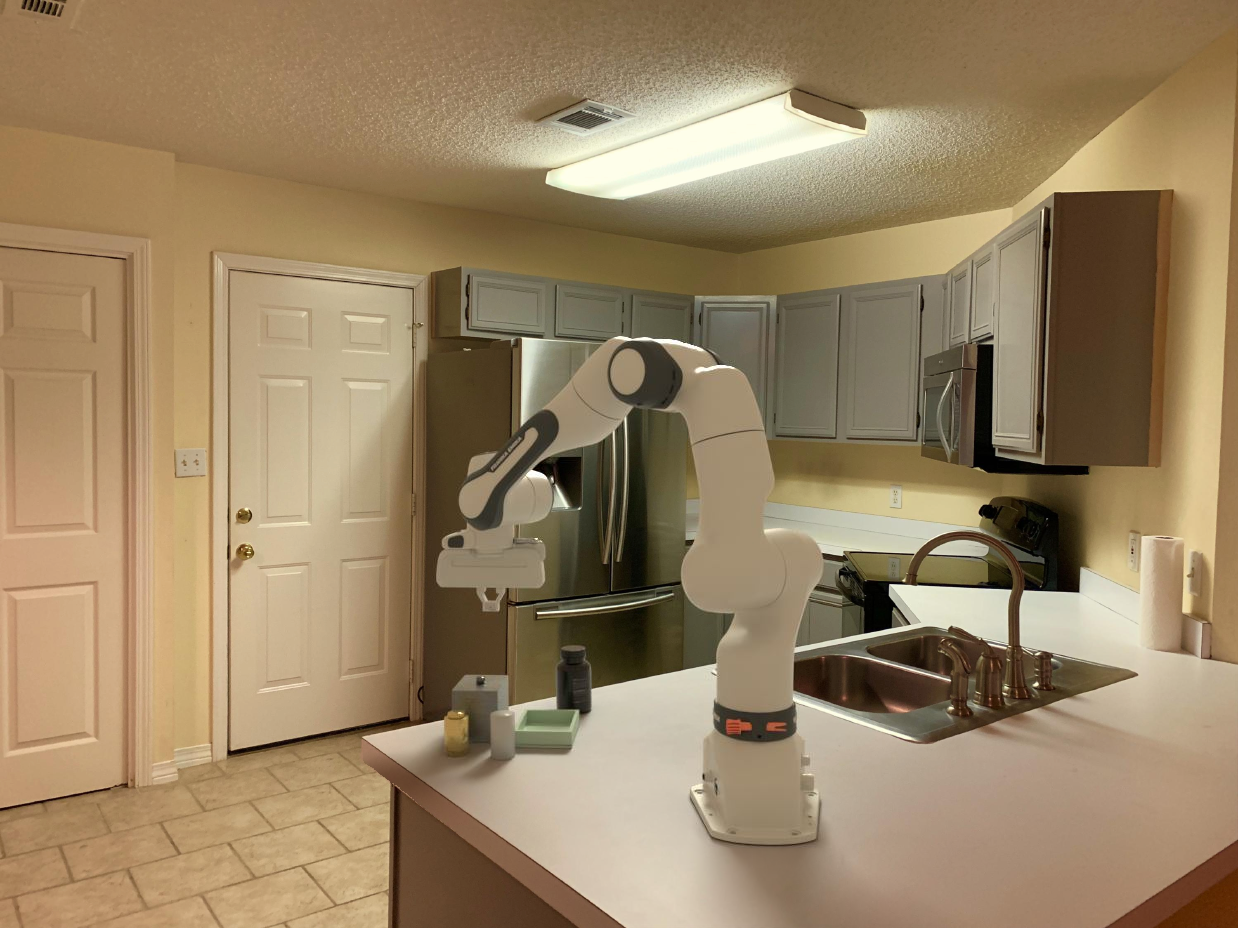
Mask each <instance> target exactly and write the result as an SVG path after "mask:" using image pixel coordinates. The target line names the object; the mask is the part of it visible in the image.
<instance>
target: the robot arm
mask: <svg viewBox="0 0 1238 928" xmlns="http://www.w3.org/2000/svg"><path fill="white" fill-rule="evenodd" d="M633 408H637V409H641V410H653V411H654V410H656V411H661V412H664V413H680V414H681V415H682V417H683V418H684V420H685V423H686V426H687V428H688V433H689V442H690V447H691V451H692V456H693V461H694V466H695V472H696V479H697V485H698V491H699V517H698V524H697V530H696V533H695V538H694V541H693V543H692V545H691V546H690V548H689V550H688V551H687V552H686V553H685V555H684V558H683V560H682V563H681V568H680V569H681V570H680V578H681V584H682V589H683V591H684V593H685V595H686V597H687V598H688V600H689V601H690V602H691V603H692V605H694V607H697V608H698V609H699V610H701V611H705V612H708V613H710V612H711V613H718V614H734V617H733V619H732V621H731V623H730V626H729V628H728V630H727V631H726V632H725V634H724V635H723V637H722V638H721V639H720V641H719V643H718V646H717V649H716V697H715V698H714V700H713V707H712V716H713V719H712V720H713V721H712V723H713V729H712V730H711V731H710V732H709V733H708V734H707V735H705V737H703V742H702V745H703V746H702V747H703V748H702V749H703V750H702V774H701V775H702V777H701V778H702V779H701V780H702V783H698V784H696V785H693V786H691V787H690V789H689V797H690V798H691V801H692V802H693V803H692V804H693V805H694V807H695V809H696V810H697V812H698V814H699V816H700V818H701V820H702V822H703V823H704V826H705V827H706V829H707V831H708V833H709V835H710V836H711V837H712V838H714V839H718V840H721V841H726V842H731V843H737V844H746V845H747V844H749V845H767V846H768V845H770V846H771V845H773V846H775V845H776V846H777V845H780V846H781V845H794V844H802V843H807V842H811V841H814V840H816V839H817V835H818V827H819V826H818V824H819V814H820V813H819V812H820V806H821V805H820V803H821V795H820V794H821V793H820V790H819V789H817V788H815V784H814V783H815V774H814V773H809V772H805V771H806V768H805V767H806V766H807V767H809V766H810V763H811V760H810V759H811V758H810V755H806V741H805V739H804V738H802V736H801V735H799V734H798V732H797V728H798V726H797V719H798V712H797V704H796V702H795V701H794V663H795V661H794V660H795V650H796V642H797V638H798V634H799V630H800V629H799V628H800V626H801V622H802V619H803V615H804V612H805V609H806V606H807V603H808V600H809V597H810V595H811V594H812V592H813V591H814V589H815V587H816V586H817V585H818V583H819V582H820V581H821V578H822V576H823V572H824V565H825V564H824V556H823V553H822V550H821V548H820V547H819V545H818V543H817V542H816V540H815V539H814V538H812V537H811V536H810V535H808V533H807V534H806V533H805V532H802V531H799V530H794V529H788V528H783V527H776V528H768V529H765V528H764V514H765V513H764V512H765V506H766V502H767V499H768V497H769V496H770V494H771V493H772V492H773V490H774V488H775V482H776V479H775V474H774V472H775V471H774V469H773V463H772V460H771V459H772V458H771V454H770V450H769V444H768V441H767V435H766V432H765V426H764V421H763V417H762V415H761V412H760V408H759V404H758V402H757V400H756V396H755V394H754V391H753V389H752V387H751V384H750V382H749V380H748V378H747V376H746V375H745V374H744V372H742V370H740V369H738V368H736V367H732V366H729V365H727V364H726V363H725V361H724V360H723V358H722V357H721V356H719V354H717V353H716V352H715V351H712V350H710V349H708V348H706V347H703V346H699V345H698V346H697V345H695V346H694V345H691V344H690V343H683V342H681V341H679V340H675V339H674V340H673V339H662V338H660V339H659V338H658V339H653V338H650V337H638V338H633V339H632V338H629V337H626V336H616V337H611V338H610V339H608V340H606V341H605V342H604V343H603V344H602V345H600V347H599V346H598V348H597V349H596V350H595V351H594V352H593V353H592V354H591V355H590V356H589V357H588V358H587V360H585V362H584V363H583V364H582V365H581V366H580V367H579V369H578V370H577V371H576V372H575V374H574V375H573V377H572V378H571V379H570V380H569V381H568V383H567V384H566V386H564V388H562V389H561V391H560V392H559V393H558V394H557V395H556V396H555V397H554V398H553V399H552V400H551V401H550V402H548V403H547V404H546V405H545V406H543V407H542V408H541V409H540V410H539V411H537V412H536V413H534V414H533V415H532V416H531V417H530V418H529V419H527V420H526V421H525V422H524V423H523V424H522V425H521V426H520V427H519V428H518V429H517V430H516V432H515V433H513V435H512V436H510V438H509V439H508V440H507V441H506V442H505V443H504V445H503V446H502V447H500V449H499V450H498V451H496V450H495V451H486V452H482V453H478V454H475V455H474V456H473V457H471V459H470V460H469V464H468V468H467V469H468V470H467V476H466V478H465V479H464V481H463V482H462V484H461V486H460V489H459V492H458V495H457V507H458V510H459V513H460V515H461V516H462V518H463V519H464V520H465V522H466V529H460V530H458V531H456V532H453V533H451V534H448V535H446V536H445V537H443V538H442V540H441V547H442V548H443V550H442V551H441V552H440V553H439V556H438V557H437V563H436V584H438V586H439V587H440V588H476V594H477V596H478V599H479V600H480V601H481V603H482V612H499V611H500V608H501V607H500V603H501V600H502V598H503V596H504V595H505V593H506V589H540V588H541V587H542V586H543V585H544V583H545V581H546V571H545V564H544V561H545V559H546V557H547V547H546V545H545V543H544V542H543V541H541V540H539V539H538V538H535V537H530V538H527V537H526V538H524V537H515V526H518V525H524V524H531V523H536V522H539V521H542V520H544V519H546V518H548V516H549V515H550V513H551V512H552V510H553V506H554V503H555V492H554V488H553V484H552V482H551V481H550V479H549V478H548V476H546V475H545V474H544V473H543V472H540V471H536V470H533V469H534V468H535V467H536V466H537V465H538V464H539V463H540V462H541V461H543V460H545V459H547V458H548V457H551V456H553V455H556V454H558V453H561V452H565V451H568V450H569V451H571V450H572V449H578V448H583V447H587V446H592V445H596V444H598V443H600V442H602V441H603V440H604V439H606V438H608V437H609V435H611V434H612V433H613V432H614V431H615V430H617V428H619V426H620V425H621V424H622V423H623V421H624V420H625V419H626V417H627V416H628V415H629V413H630V412H631V411H632V410H633ZM488 588H495V593H496V594H498V595H497V597H496V599H495V600H488V598H487V596H486V594H485V592H486V591H487V589H488Z"/></svg>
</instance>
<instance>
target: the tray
mask: <svg viewBox="0 0 1238 928" xmlns="http://www.w3.org/2000/svg"><path fill="white" fill-rule="evenodd" d="M579 727H580V714H579V710H557V708H555V709H550V708H549V709H548V708H546V709H544V708H542V709H541V708H539V709H538V708H535V709H534V708H524V709H523V712H522V713H521V715H520V717H519V719H518V721H517V723H516V724H515V748H534V749H536V748H537V749H542V748H543V749H545V748H546V749H573V746H574V744H575V743H574V742H575V739H576V736H577V733H578V731H579Z"/></svg>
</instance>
